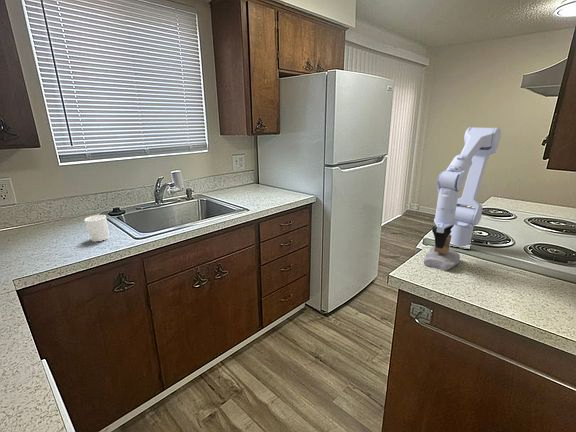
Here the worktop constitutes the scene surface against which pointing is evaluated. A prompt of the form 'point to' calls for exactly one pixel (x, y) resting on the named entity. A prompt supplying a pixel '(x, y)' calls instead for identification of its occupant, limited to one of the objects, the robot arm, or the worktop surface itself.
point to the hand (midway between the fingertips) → (440, 245)
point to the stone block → (441, 259)
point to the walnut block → (445, 247)
